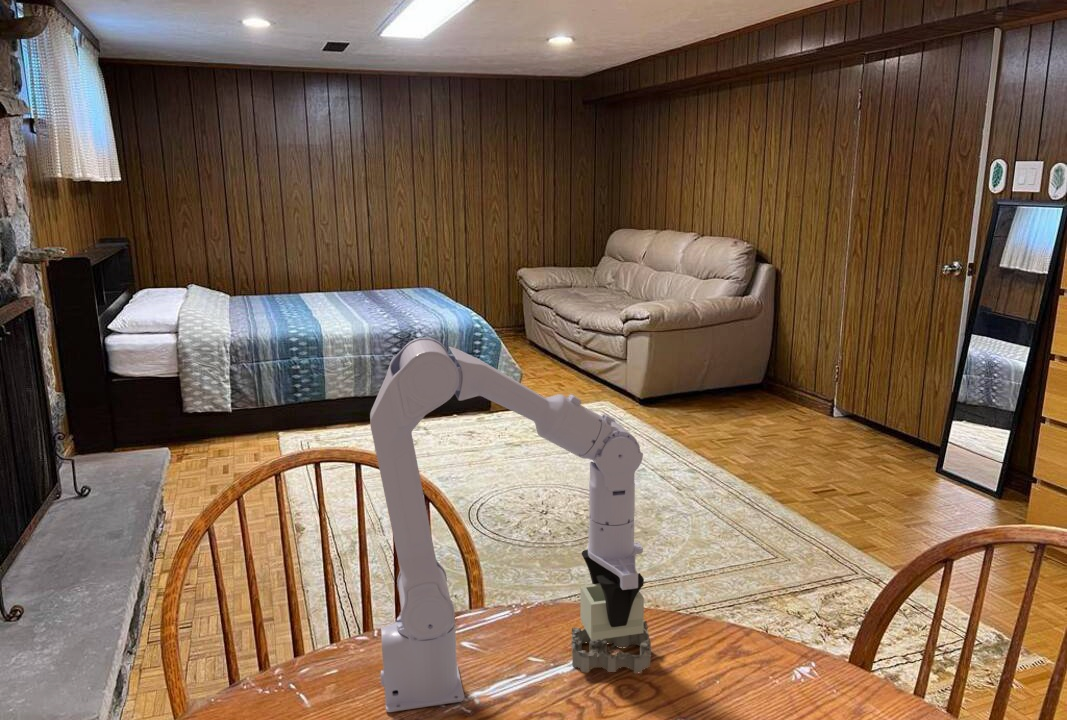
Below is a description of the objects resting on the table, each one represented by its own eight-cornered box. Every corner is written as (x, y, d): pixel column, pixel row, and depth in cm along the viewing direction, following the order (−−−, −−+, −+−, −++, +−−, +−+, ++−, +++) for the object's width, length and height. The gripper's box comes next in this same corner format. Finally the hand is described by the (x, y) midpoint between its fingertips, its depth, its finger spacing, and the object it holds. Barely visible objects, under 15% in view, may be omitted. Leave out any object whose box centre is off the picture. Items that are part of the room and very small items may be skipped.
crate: (591, 640, 101) (591, 604, 100) (580, 620, 106) (580, 585, 105) (643, 633, 102) (643, 597, 101) (630, 613, 107) (630, 579, 106)
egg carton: (650, 646, 109) (650, 619, 108) (651, 679, 102) (652, 650, 101) (572, 641, 110) (572, 615, 109) (568, 674, 103) (568, 645, 102)
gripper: (662, 536, 95) (660, 639, 97) (623, 492, 108) (622, 583, 111) (606, 543, 93) (605, 647, 96) (573, 497, 107) (574, 589, 110)
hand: (611, 613), depth 104 cm, fingers closed on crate, 5 cm apart
